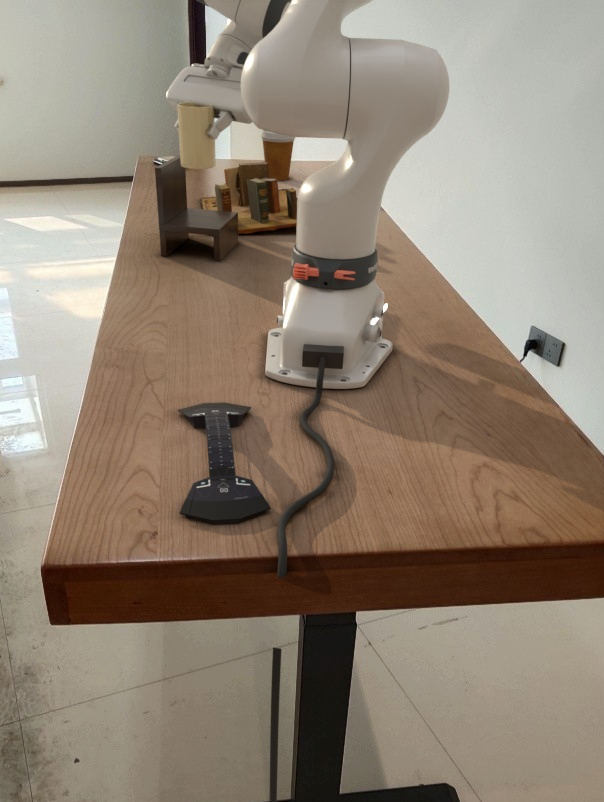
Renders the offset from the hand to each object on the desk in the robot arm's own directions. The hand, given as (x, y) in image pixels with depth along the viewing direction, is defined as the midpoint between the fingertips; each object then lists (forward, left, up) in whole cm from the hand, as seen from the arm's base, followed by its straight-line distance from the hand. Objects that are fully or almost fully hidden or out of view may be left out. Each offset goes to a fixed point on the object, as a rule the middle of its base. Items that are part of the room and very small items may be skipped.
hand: (194, 133), depth 133 cm
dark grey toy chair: (+5, +1, -22) cm, 22 cm away
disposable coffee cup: (+78, +1, -22) cm, 81 cm away
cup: (+1, 0, -5) cm, 5 cm away
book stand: (+33, -3, -22) cm, 40 cm away
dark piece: (-73, -25, -22) cm, 80 cm away
